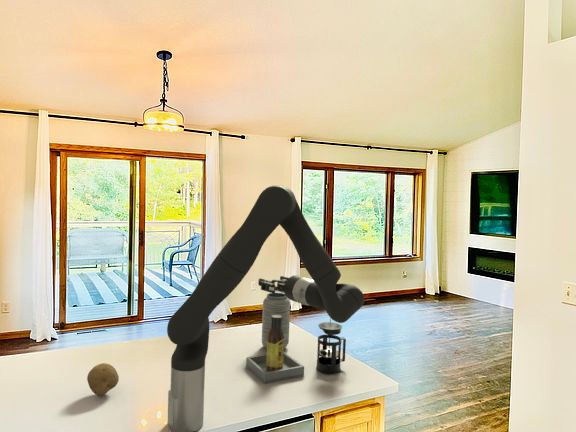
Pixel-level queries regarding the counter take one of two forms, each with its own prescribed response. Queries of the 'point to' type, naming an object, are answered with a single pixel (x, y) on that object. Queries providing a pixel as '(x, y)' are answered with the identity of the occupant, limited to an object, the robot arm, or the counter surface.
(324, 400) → the counter surface
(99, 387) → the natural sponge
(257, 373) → the tray
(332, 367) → the french press
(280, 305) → the vase
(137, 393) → the counter surface
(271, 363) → the sauce bottle
